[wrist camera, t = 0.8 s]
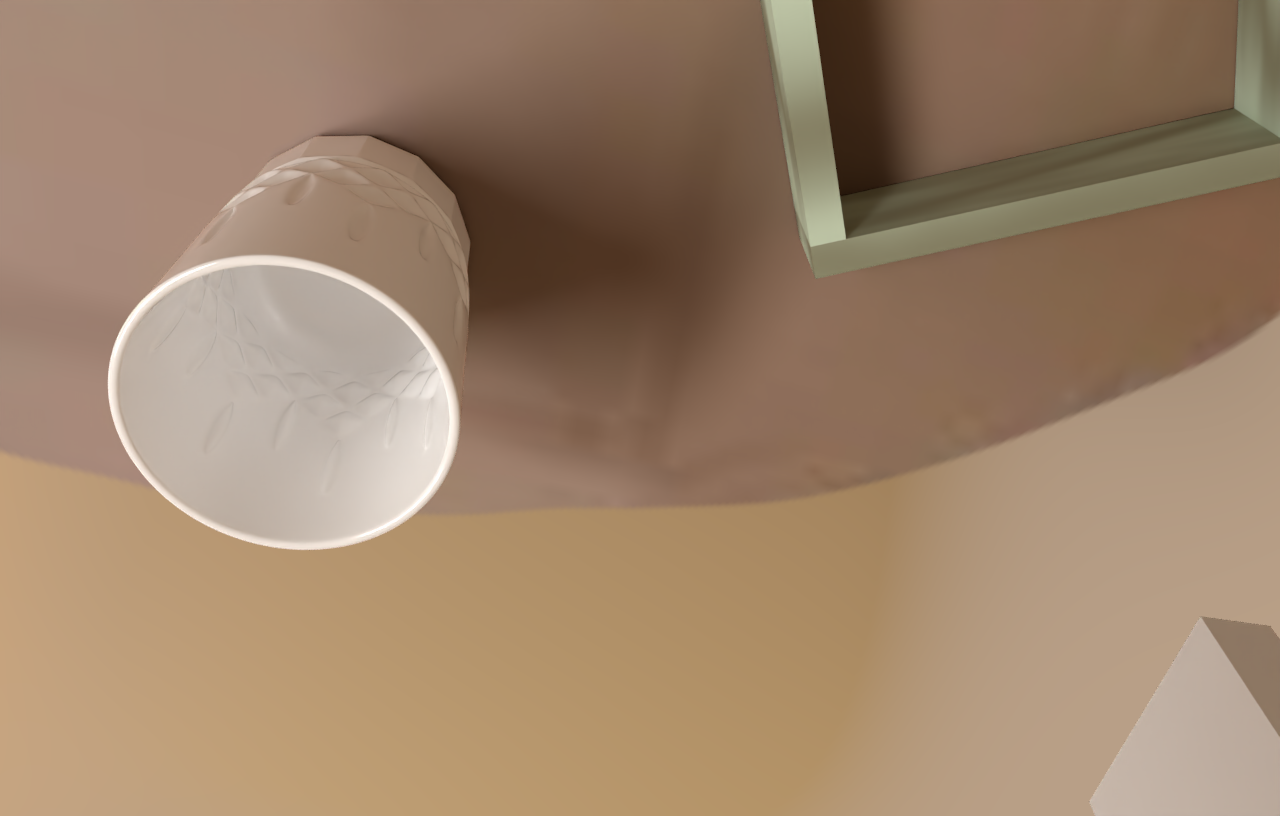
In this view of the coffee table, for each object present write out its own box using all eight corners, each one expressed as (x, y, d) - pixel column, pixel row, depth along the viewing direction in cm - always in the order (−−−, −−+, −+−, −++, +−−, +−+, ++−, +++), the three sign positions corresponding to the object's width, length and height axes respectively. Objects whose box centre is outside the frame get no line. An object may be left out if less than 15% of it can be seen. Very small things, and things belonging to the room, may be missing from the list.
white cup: (167, 224, 35) (32, 397, 27) (355, 54, 33) (273, 183, 24) (360, 399, 38) (296, 601, 30) (543, 256, 36) (530, 431, 28)
